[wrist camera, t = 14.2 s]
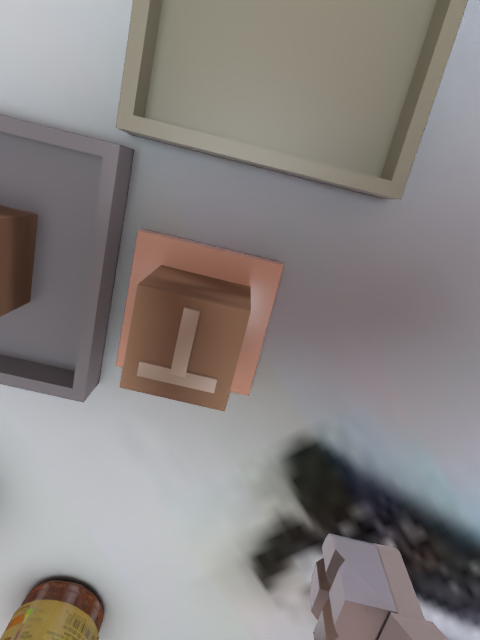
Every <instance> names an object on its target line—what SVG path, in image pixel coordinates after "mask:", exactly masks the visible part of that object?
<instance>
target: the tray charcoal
mask: <svg viewBox="0 0 480 640" xmlns="http://www.w3.org/2000/svg"><path fill="white" fill-rule="evenodd" d="M133 153H134V150H133V149H130V148H127V147H124V146H121V145H118V144H114V143H110V142H106V141H102V140H98V139H94V138H90V137H86V136H82V135H78V134H74V133H70V132H66V131H62V130H58V129H54V128H50V127H46V126H42V125H38V124H34V123H30V122H26V121H22V120H18V119H15V118H11V117H7V116H3V115H0V205H1V206H5V207H9V208H14V209H18V210H22V211H26V212H30V213H34V214H38V222H37V233H36V244H35V254H34V265H33V276H32V287H31V298H30V302H29V303H27V304H25V305H23V306H21V307H19V308H17V309H15V310H13V311H11V312H9V313H7V314H5V315H3V316H1V317H0V384H3V385H7V386H12V387H16V388H21V389H26V390H30V391H35V392H39V393H44V394H48V395H53V396H57V397H62V398H66V399H71V400H75V401H80V402H84V401H85V400H86V399H87V397H88V396H89V395H90V393H91V392H92V391H93V390H94V388H95V387H96V386H97V385H98V383H99V378H100V372H101V365H102V358H103V352H104V345H105V338H106V332H107V325H108V319H109V312H110V305H111V299H112V292H113V286H114V279H115V272H116V266H117V259H118V253H119V246H120V239H121V233H122V226H123V220H124V213H125V206H126V200H127V193H128V187H129V180H130V173H131V167H132V160H133Z"/></svg>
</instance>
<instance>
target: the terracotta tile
mask: <svg viewBox="0 0 480 640" xmlns="http://www.w3.org/2000/svg"><path fill="white" fill-rule="evenodd" d="M160 265H164V266H168V267H172V268H176V269H180V270H184V271H188V272H192V273H196V274H200V275H204V276H209V277H213V278H217V279H221V280H225V281H229V282H233V283H237V284H241V285H245V286H249V287H251V313H250V317H249V321H248V325H247V328H246V332H245V336H244V340H243V344H242V347H241V351H240V355H239V359H238V363H237V366H236V370H235V374H234V378H233V382H232V385H231V389H230V392H235V393H239V394H243V395H248V396H249V393H250V389H251V385H252V382H253V378H254V374H255V371H256V367H257V363H258V359H259V356H260V352H261V348H262V345H263V341H264V337H265V334H266V330H267V326H268V323H269V319H270V315H271V312H272V308H273V304H274V300H275V297H276V293H277V289H278V286H279V282H280V278H281V275H282V271H283V267H284V265H283V263H282V262H278V261H274V260H270V259H266V258H261V257H257V256H253V255H249V254H245V253H241V252H237V251H233V250H228V249H224V248H220V247H216V246H212V245H208V244H204V243H199V242H195V241H191V240H187V239H183V238H179V237H175V236H170V235H166V234H162V233H158V232H154V231H150V230H146V229H140V230H138V233H137V239H136V245H135V251H134V257H133V263H132V269H131V276H130V282H129V288H128V294H127V300H126V306H125V313H124V319H123V325H122V331H121V337H120V343H119V349H118V356H117V362H116V366H119V367H123V365H124V359H125V354H126V348H127V342H128V336H129V331H130V325H131V319H132V314H133V308H134V302H135V297H136V291H137V285H138V284H139V283H140V282H141V281H142V280H144V279H145V278H146V277H147V276H148V275H150V274H151V273H152V272H153V271H154V270H156V269H157V268H158V267H159V266H160Z"/></svg>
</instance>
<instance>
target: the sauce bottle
mask: <svg viewBox="0 0 480 640" xmlns="http://www.w3.org/2000/svg"><path fill="white" fill-rule="evenodd" d="M102 621H103V609H102V606H101V603H100V602H99V600H98V599H97V598H96V596H95V594H94V593H92V592H91V591H90V590H89V589H86V588H85V587H84V586H83V585H81V584H77V583H73V582H69V581H63V580H51V581H47V582H44V583H42V584H40V585H38V586H36V587H35V588H34V589H33V590H32V591H31V592H30V593H29V594H28V595H27V597H26V598H25V600H24V601H23V603H22V605H21V607H20V608H19V609H18V610H17V611H16V612H15V613H14V615H13V617H12V619H11V620H10V622H9V624H8V626H7V628H6V630H5V632H4V633H3V635H2V637H1V639H0V640H98V639H99V637H98V632H99V630H100V627H101V624H102Z"/></svg>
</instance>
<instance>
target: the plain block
mask: <svg viewBox="0 0 480 640" xmlns="http://www.w3.org/2000/svg"><path fill="white" fill-rule="evenodd" d="M37 222H38V214H34V213H30V212H26V211H22V210H18V209H14V208H9V207H5V206H1V205H0V317H1V316H3V315H5V314H7V313H9V312H11V311H13V310H15V309H17V308H19V307H21V306H23V305H25V304H27V303H29V302H30V298H31V287H32V276H33V265H34V254H35V244H36V233H37Z"/></svg>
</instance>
